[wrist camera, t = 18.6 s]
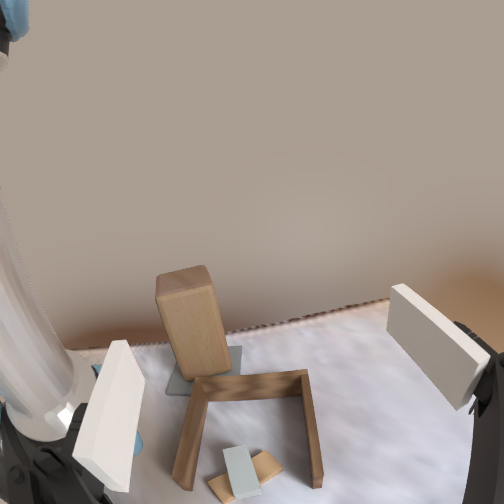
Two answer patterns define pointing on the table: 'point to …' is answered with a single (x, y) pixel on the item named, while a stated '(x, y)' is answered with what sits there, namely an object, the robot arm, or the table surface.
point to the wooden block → (193, 322)
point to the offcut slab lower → (264, 470)
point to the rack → (237, 391)
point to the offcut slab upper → (241, 472)
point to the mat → (185, 387)
